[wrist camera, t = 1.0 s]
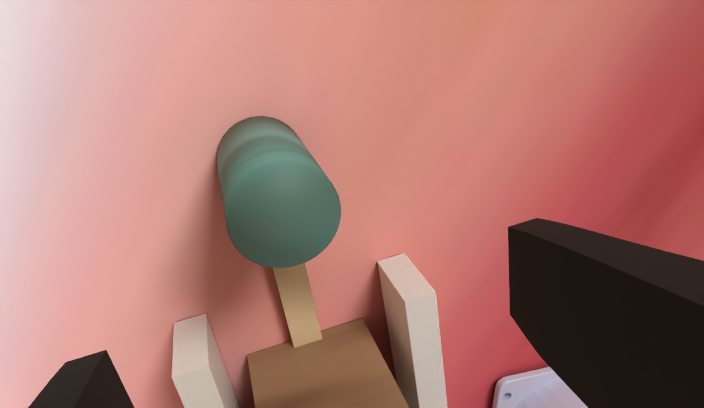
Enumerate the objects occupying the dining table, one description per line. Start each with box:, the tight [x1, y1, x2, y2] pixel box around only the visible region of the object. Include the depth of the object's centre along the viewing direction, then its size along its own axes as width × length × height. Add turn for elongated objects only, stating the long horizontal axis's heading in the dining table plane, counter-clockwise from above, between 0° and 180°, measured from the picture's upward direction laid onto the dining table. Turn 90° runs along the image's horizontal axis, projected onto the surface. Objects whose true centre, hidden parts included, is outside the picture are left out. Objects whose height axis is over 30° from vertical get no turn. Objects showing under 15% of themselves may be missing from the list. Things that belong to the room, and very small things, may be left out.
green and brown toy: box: [216, 116, 409, 408], centre depth 17 cm, size 14×5×6 cm, turn 9°
